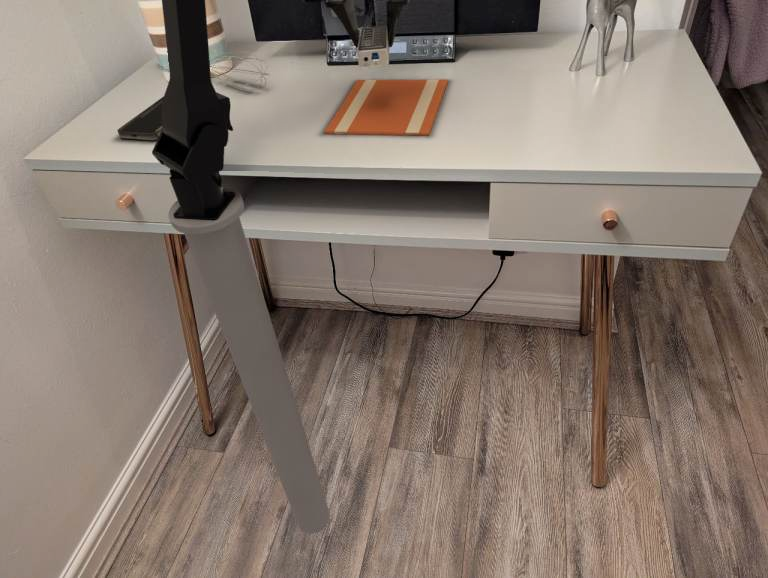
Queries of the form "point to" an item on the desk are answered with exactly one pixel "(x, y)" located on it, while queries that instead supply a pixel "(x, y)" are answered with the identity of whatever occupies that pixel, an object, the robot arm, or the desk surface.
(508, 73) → the desk surface
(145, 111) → the phone
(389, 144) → the desk surface
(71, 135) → the desk surface
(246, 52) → the kitchen whisk
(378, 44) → the multiport hub
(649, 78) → the desk surface
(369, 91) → the towel
